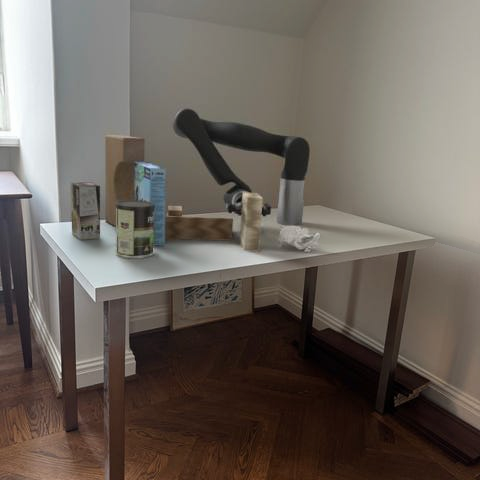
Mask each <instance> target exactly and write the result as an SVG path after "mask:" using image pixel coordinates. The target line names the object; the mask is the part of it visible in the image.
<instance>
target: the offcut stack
mask: <svg viewBox="0 0 480 480" xmlns="http://www.w3.org/2000/svg"><path fill="white" fill-rule="evenodd" d="M167 207H168V208H167V213H166V216H183V208H182V205H168V206H167Z"/></svg>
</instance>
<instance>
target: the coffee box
mask: <svg viewBox="0 0 480 480" xmlns="http://www.w3.org/2000/svg"><path fill="white" fill-rule="evenodd" d="M70 205H71V206H70V209H71V234H72V233H73V234H72V235H74V236H75V237H76V238H77V237H78V238H77V239H79V240H81V241H82V240H93V239H95V240H96V239H100V238H101V186H100V185H98V184H96V183H93V182H91V181H90V182H88V181H85V182H83V181H82V182H70Z"/></svg>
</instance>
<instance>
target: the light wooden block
mask: <svg viewBox="0 0 480 480" xmlns="http://www.w3.org/2000/svg"><path fill="white" fill-rule="evenodd" d="M263 201H264V198H263V197H262V196H261V195H260V194H259V193H257V192H252V193H246V192H243V197H242V214H241V216H240V230H239V244H240V246H241V248H242V250H243V251H253V250H254V251H255V252H256V251H257V252H258V251H260V239H261V238H260V237H261V227H262V225H261V224H262V206H263ZM254 251H253V252H254Z"/></svg>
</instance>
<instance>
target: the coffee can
mask: <svg viewBox="0 0 480 480" xmlns="http://www.w3.org/2000/svg"><path fill="white" fill-rule="evenodd" d="M154 207H155V204H154V203H152V202H148V201H138V200H128V201H119V202H116V227H115V229H116V230H115V237H116V238H115V240H116V241H115V243H116V244H115V247H116V248H115V249H116V250H115V254H116V255H117V256H118V257H121V258H125V259H145V258H149V257H152V256H153V255H154V254H155V253H154V245H153V237H154Z"/></svg>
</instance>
